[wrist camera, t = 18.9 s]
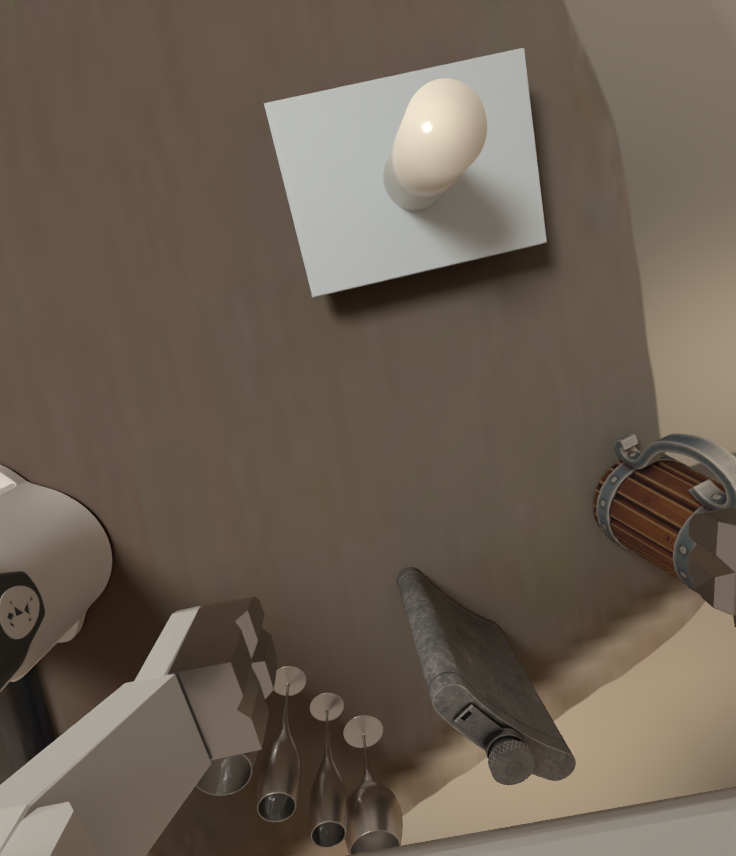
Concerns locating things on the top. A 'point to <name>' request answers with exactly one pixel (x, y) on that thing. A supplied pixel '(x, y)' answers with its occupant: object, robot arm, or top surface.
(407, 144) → the white rounded cylinder
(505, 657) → the flask
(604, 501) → the mug
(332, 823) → the goblet set
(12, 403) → the top surface
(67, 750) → the robot arm
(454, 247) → the shelf
